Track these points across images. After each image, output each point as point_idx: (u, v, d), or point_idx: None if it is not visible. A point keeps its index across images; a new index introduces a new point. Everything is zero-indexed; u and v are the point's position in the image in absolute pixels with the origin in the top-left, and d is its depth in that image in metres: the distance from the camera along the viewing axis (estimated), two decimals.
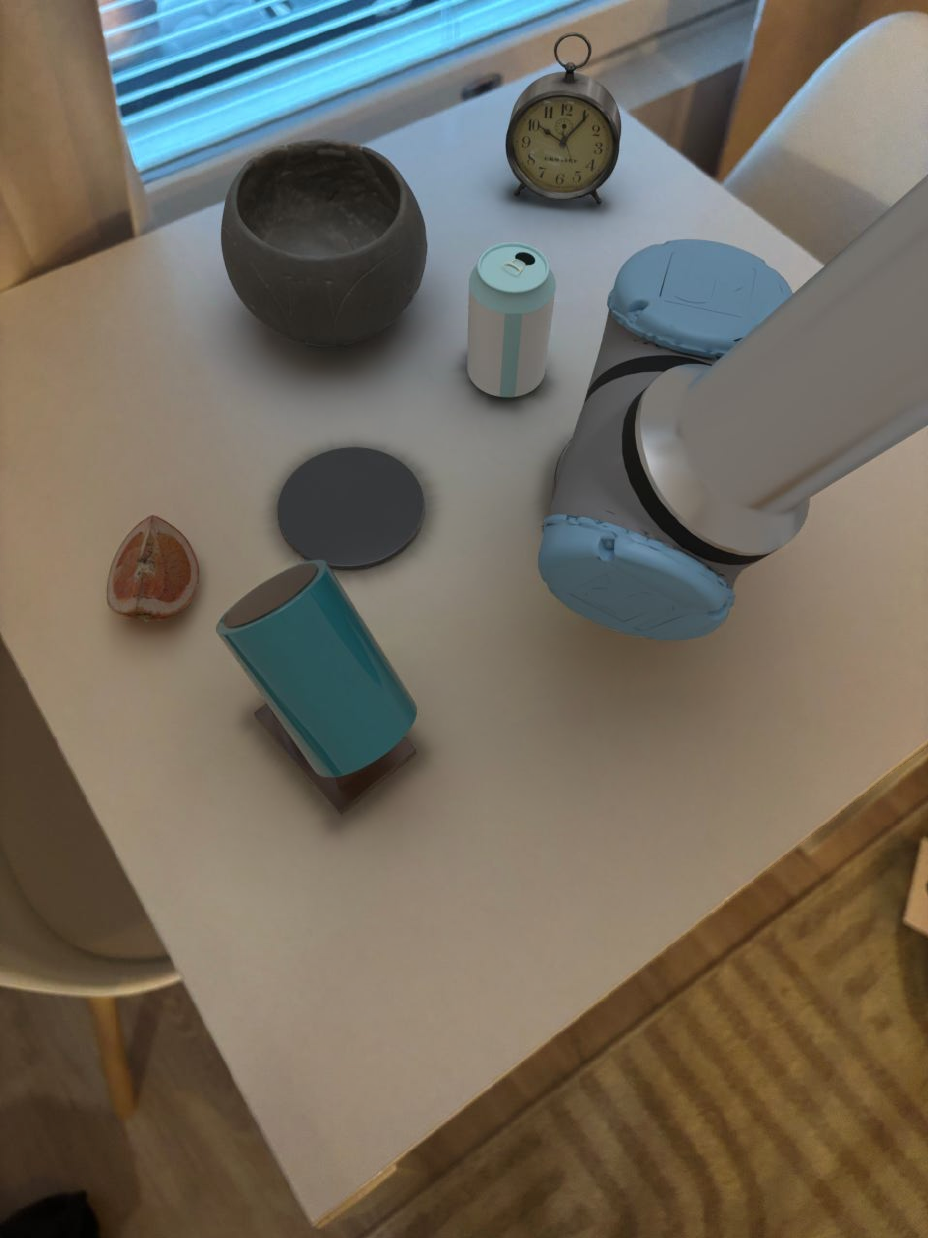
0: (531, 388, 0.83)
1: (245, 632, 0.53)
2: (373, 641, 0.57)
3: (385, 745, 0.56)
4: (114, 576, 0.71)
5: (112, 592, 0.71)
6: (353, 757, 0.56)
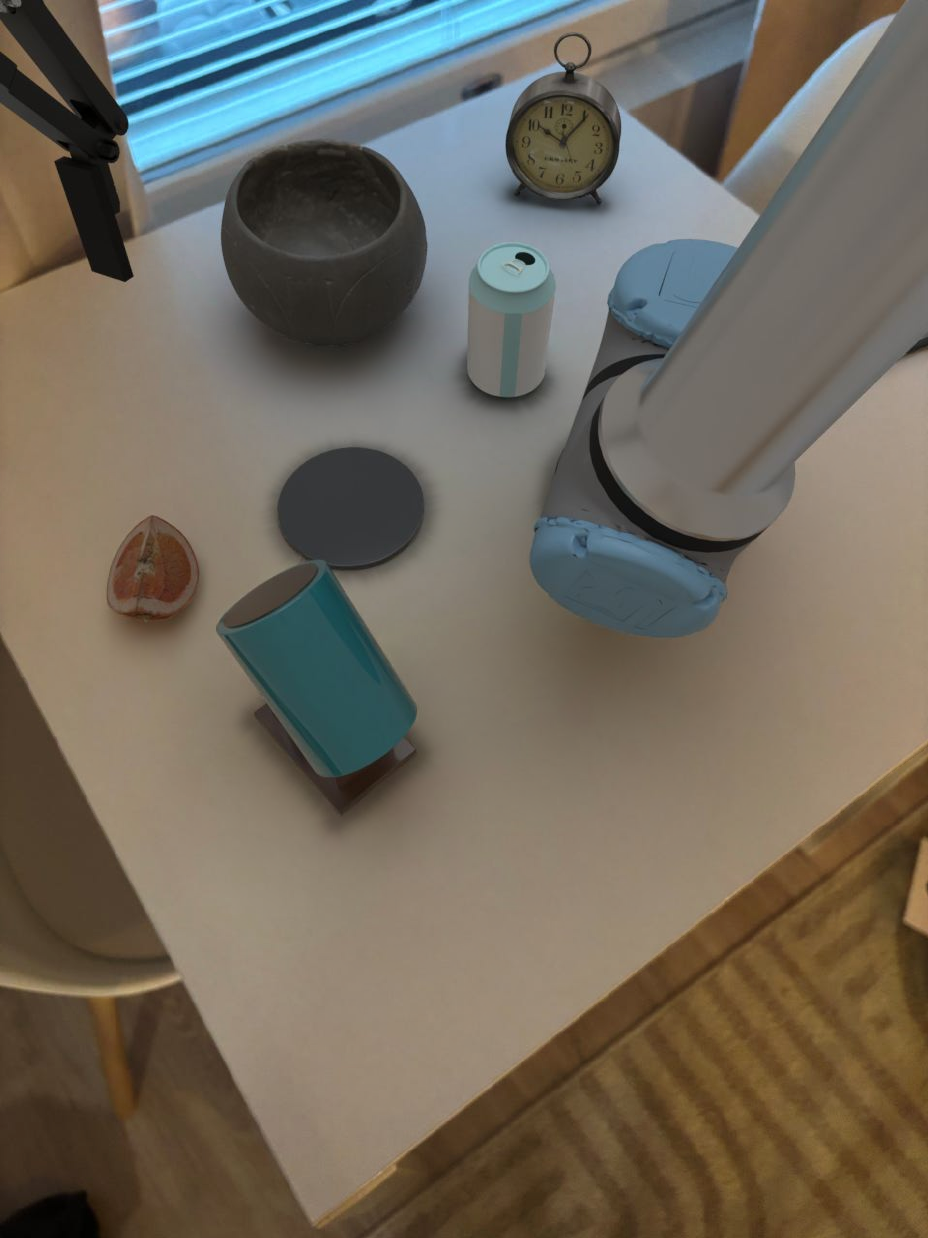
0: (531, 388, 0.83)
1: (245, 632, 0.53)
2: (373, 641, 0.57)
3: (385, 745, 0.56)
4: (114, 576, 0.71)
5: (112, 592, 0.71)
6: (353, 757, 0.56)
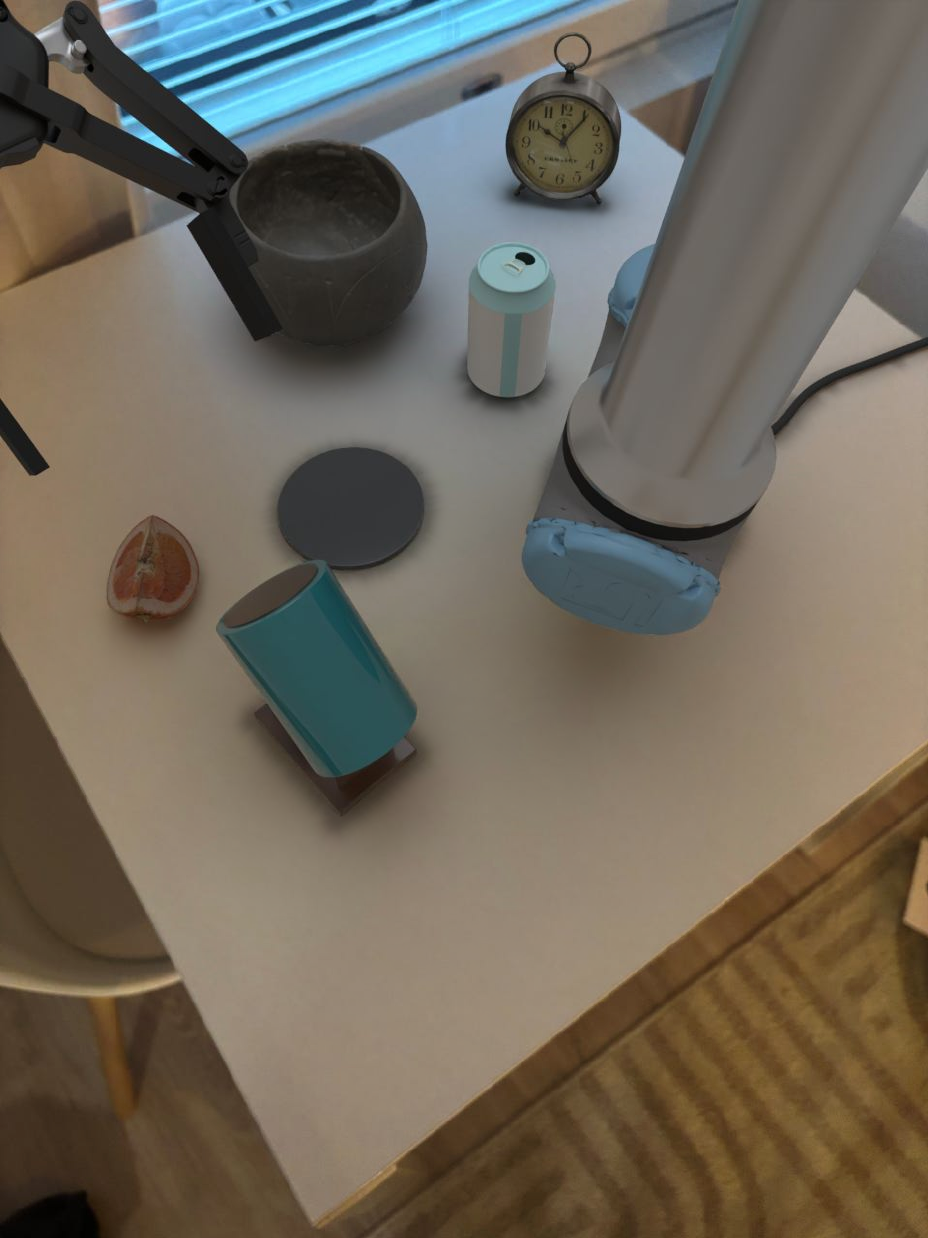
0: (531, 388, 0.83)
1: (245, 632, 0.53)
2: (373, 641, 0.57)
3: (385, 745, 0.56)
4: (114, 576, 0.71)
5: (112, 592, 0.71)
6: (353, 757, 0.56)
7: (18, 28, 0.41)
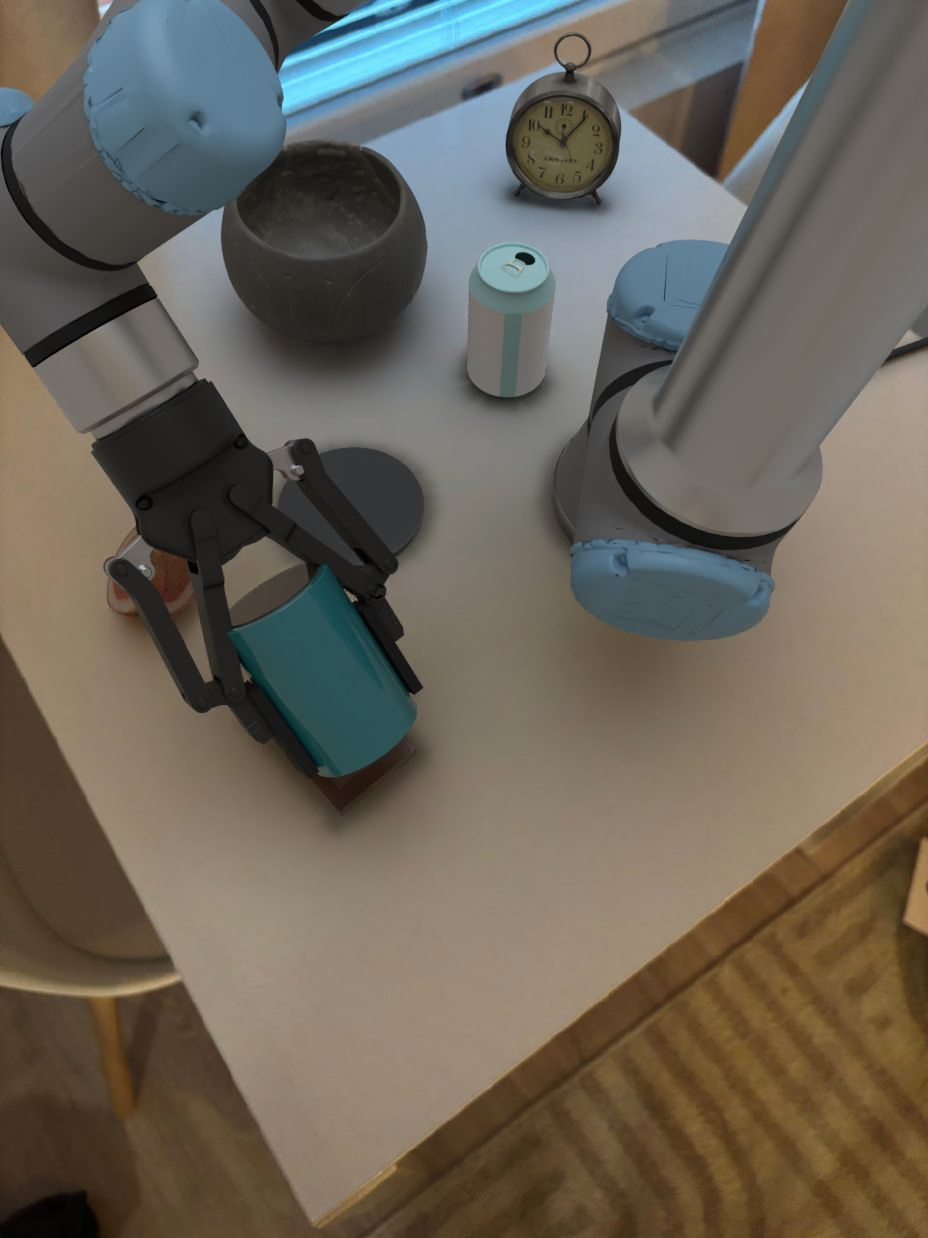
0: (531, 388, 0.83)
1: (245, 632, 0.53)
2: (373, 641, 0.57)
3: (385, 745, 0.56)
4: None
5: (112, 592, 0.71)
6: (353, 757, 0.56)
7: (254, 451, 0.53)
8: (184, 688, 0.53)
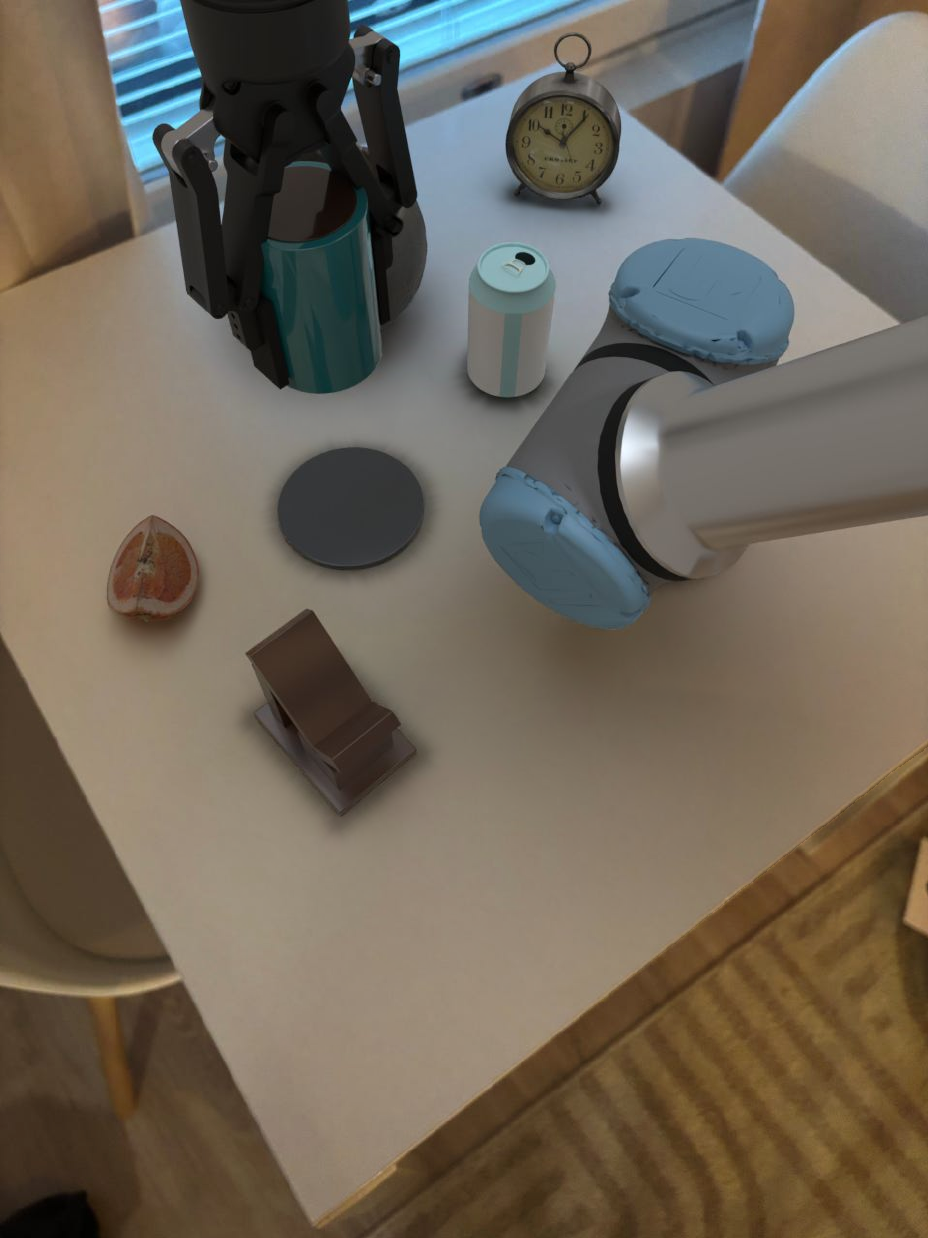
0: (531, 388, 0.83)
1: (285, 253, 0.51)
2: None
3: (359, 377, 0.60)
4: (114, 576, 0.71)
5: (112, 592, 0.71)
6: (330, 382, 0.59)
7: (346, 47, 0.46)
8: (209, 293, 0.50)
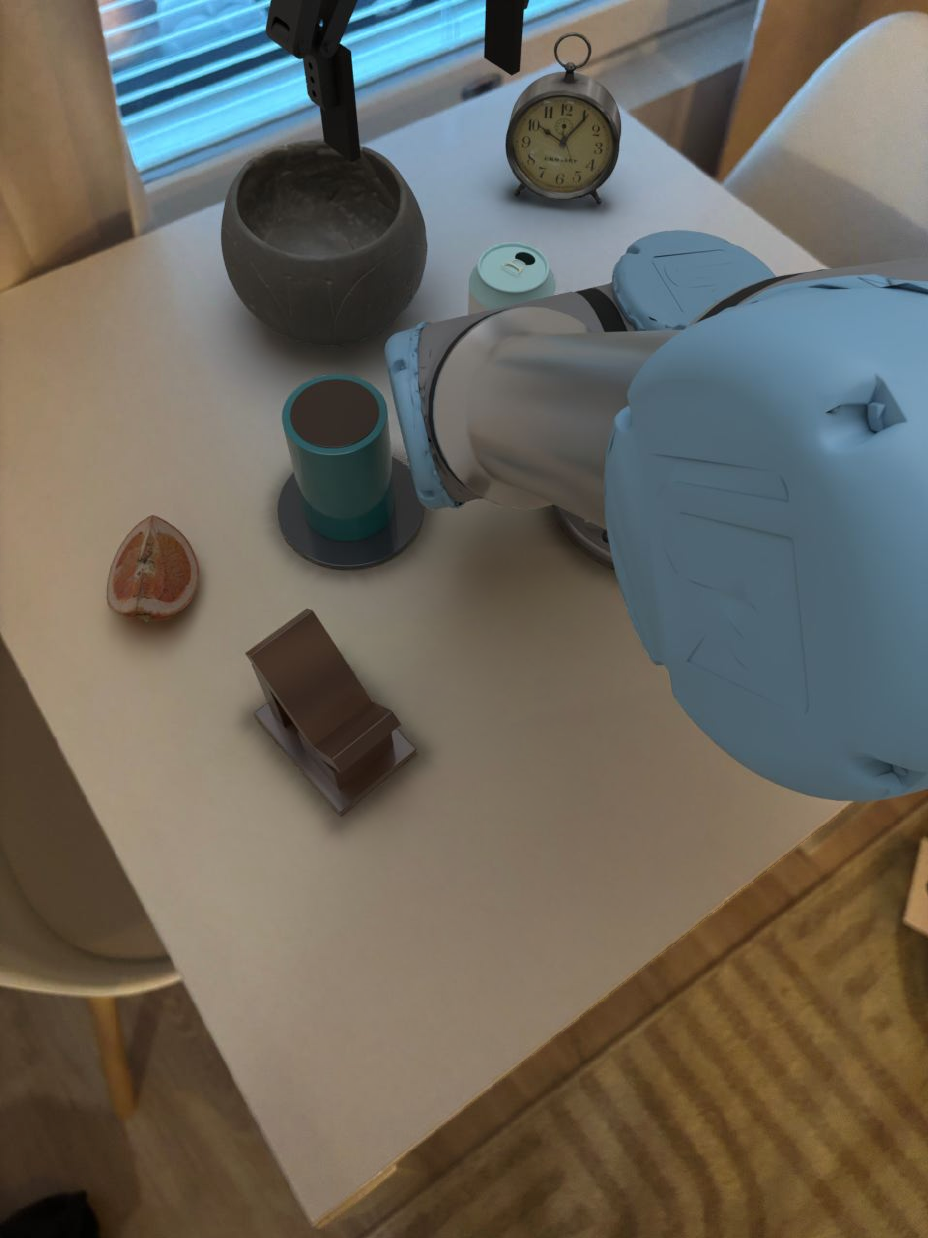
0: None
1: (324, 456, 0.66)
2: None
3: (377, 529, 0.76)
4: (114, 576, 0.71)
5: (112, 592, 0.71)
6: (354, 534, 0.75)
7: None
8: (299, 19, 0.49)
